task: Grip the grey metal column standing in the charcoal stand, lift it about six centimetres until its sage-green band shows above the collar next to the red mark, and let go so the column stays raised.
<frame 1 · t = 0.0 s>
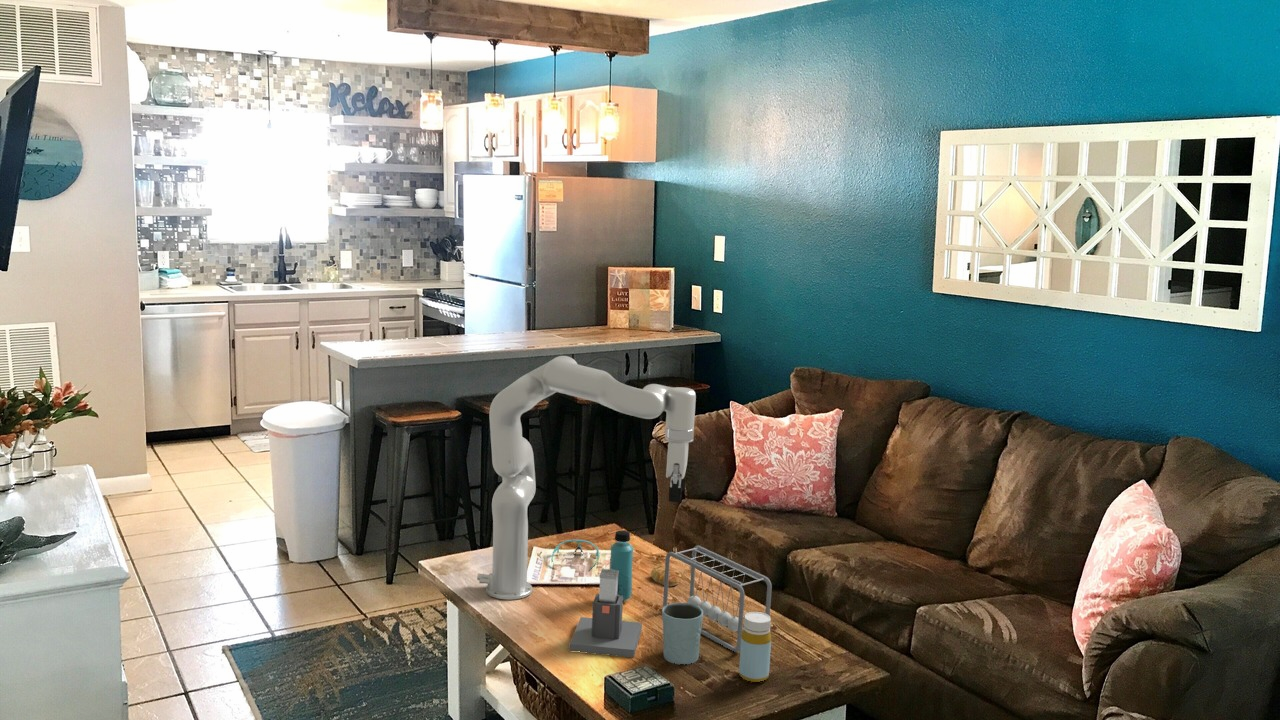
hand: (676, 496, 282), 31 cm above the table, tool pointing down, fingers open, 9 cm apart
stand base: (606, 640, 264), on the table
beverage bottle: (619, 601, 289), on the table
bottle: (753, 677, 249), on the table
sunglasses: (575, 564, 316), on the table
newton's cradle: (713, 629, 274), on the table
pastry: (665, 581, 305), on the table
stand column: (608, 601, 263), point 11 cm above the table, slide at 0.0 cm
grey cup: (680, 657, 258), on the table
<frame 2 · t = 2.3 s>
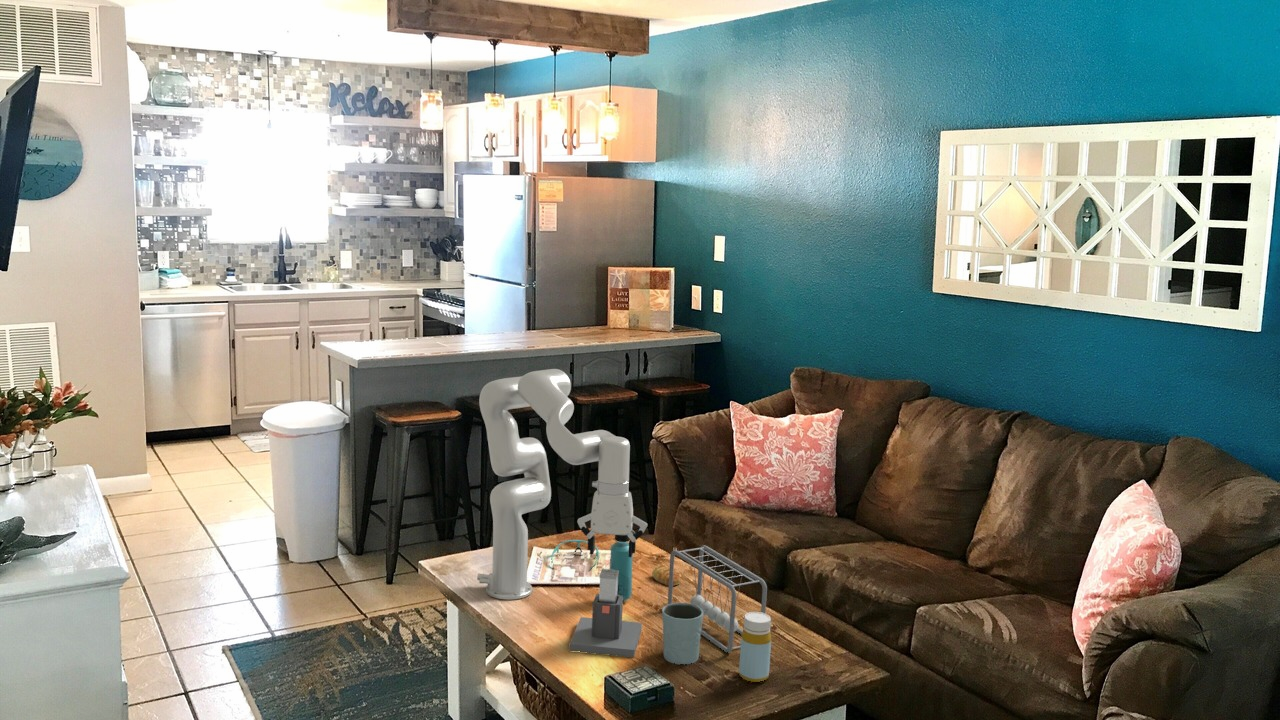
hand: (611, 554, 260), 23 cm above the table, tool pointing down, fingers open, 9 cm apart
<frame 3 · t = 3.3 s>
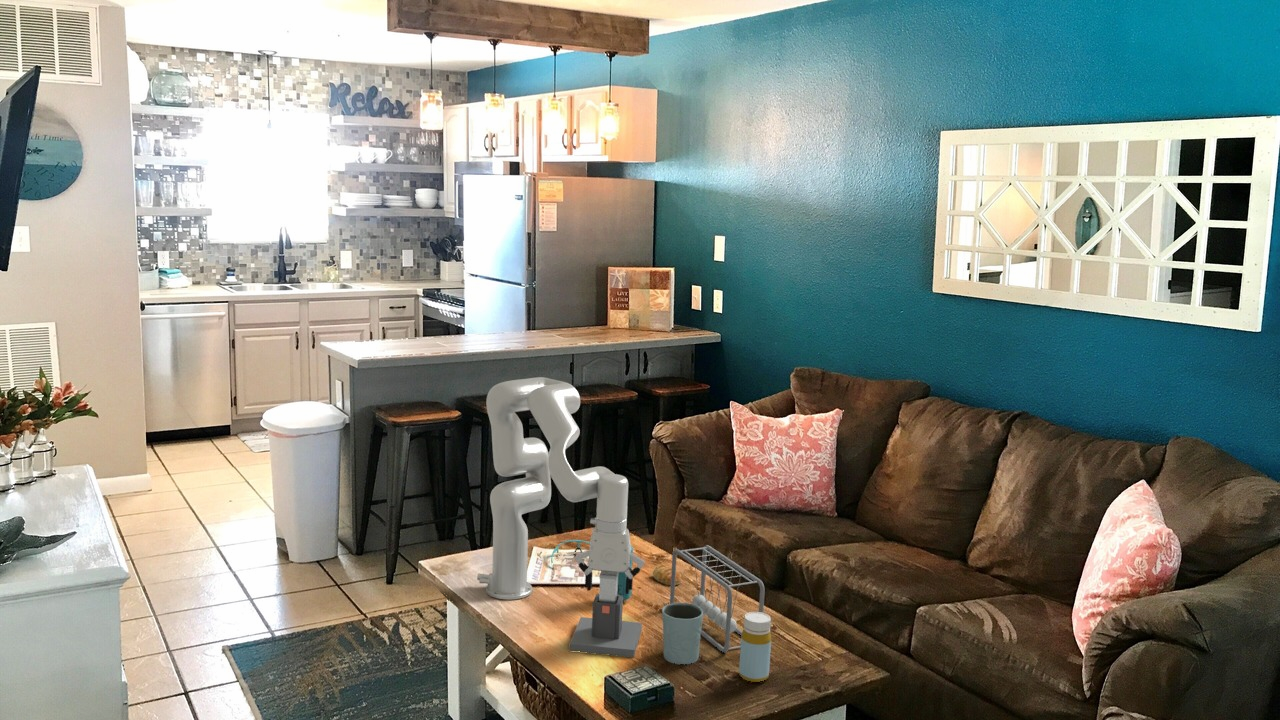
hand: (608, 590, 262), 13 cm above the table, tool pointing down, fingers open, 9 cm apart
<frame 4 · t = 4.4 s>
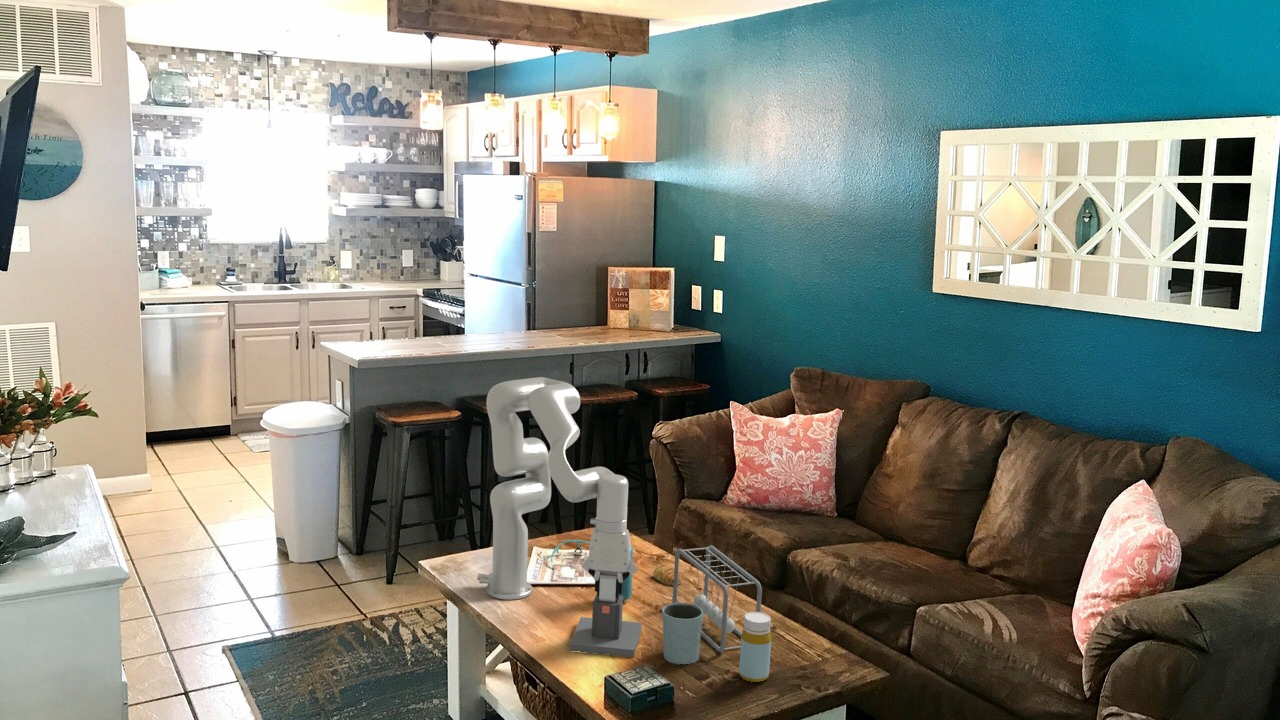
hand: (608, 594, 262), 12 cm above the table, tool pointing down, fingers closed on stand column, 4 cm apart
stand column: (608, 601, 263), point 10 cm above the table, slide at 0.0 cm, touching gripper
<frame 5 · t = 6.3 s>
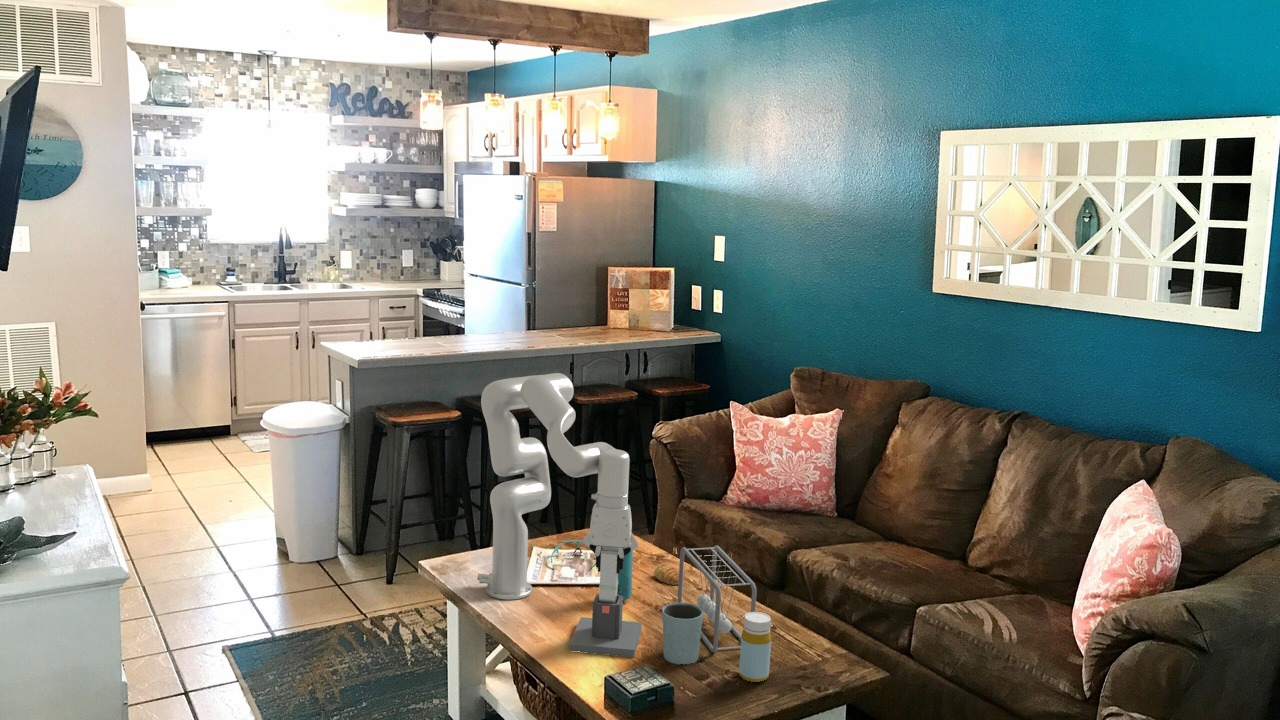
hand: (609, 570, 261), 19 cm above the table, tool pointing down, fingers closed on stand column, 4 cm apart
stand column: (609, 576, 261), point 17 cm above the table, slide at 6.4 cm, touching gripper
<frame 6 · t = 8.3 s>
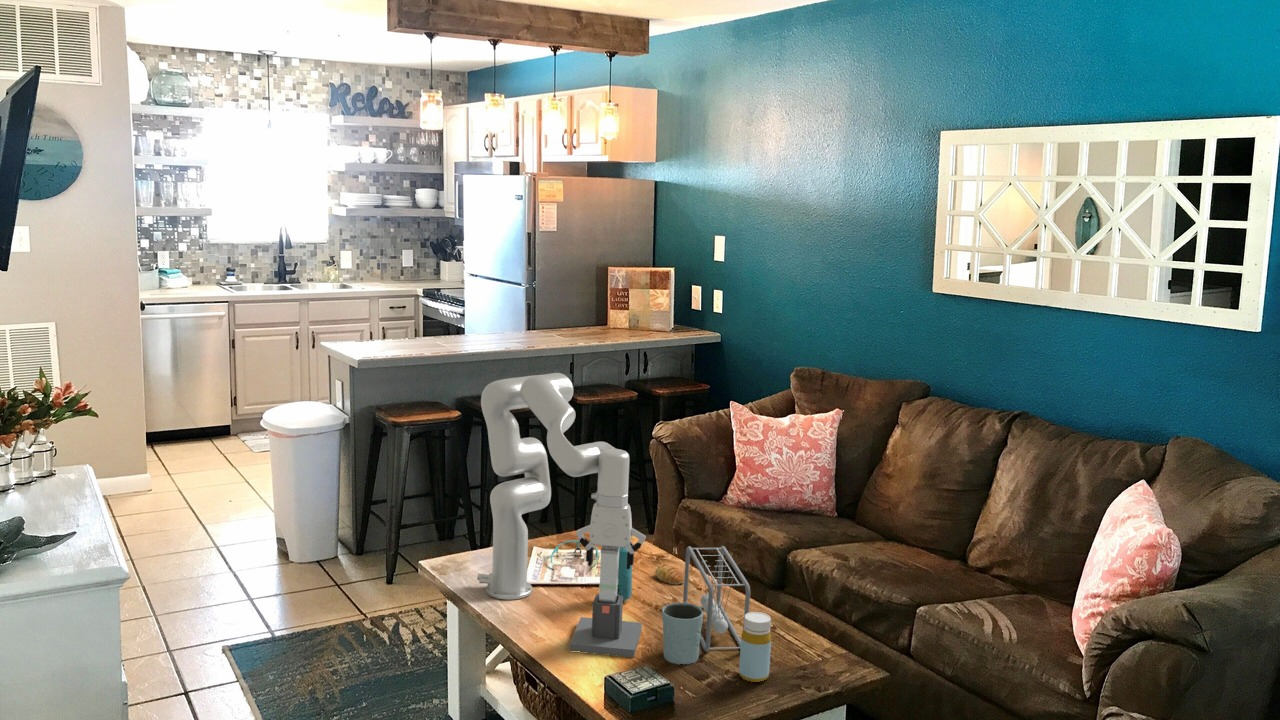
hand: (609, 565, 261), 20 cm above the table, tool pointing down, fingers open, 9 cm apart
stand column: (609, 576, 261), point 17 cm above the table, slide at 6.5 cm
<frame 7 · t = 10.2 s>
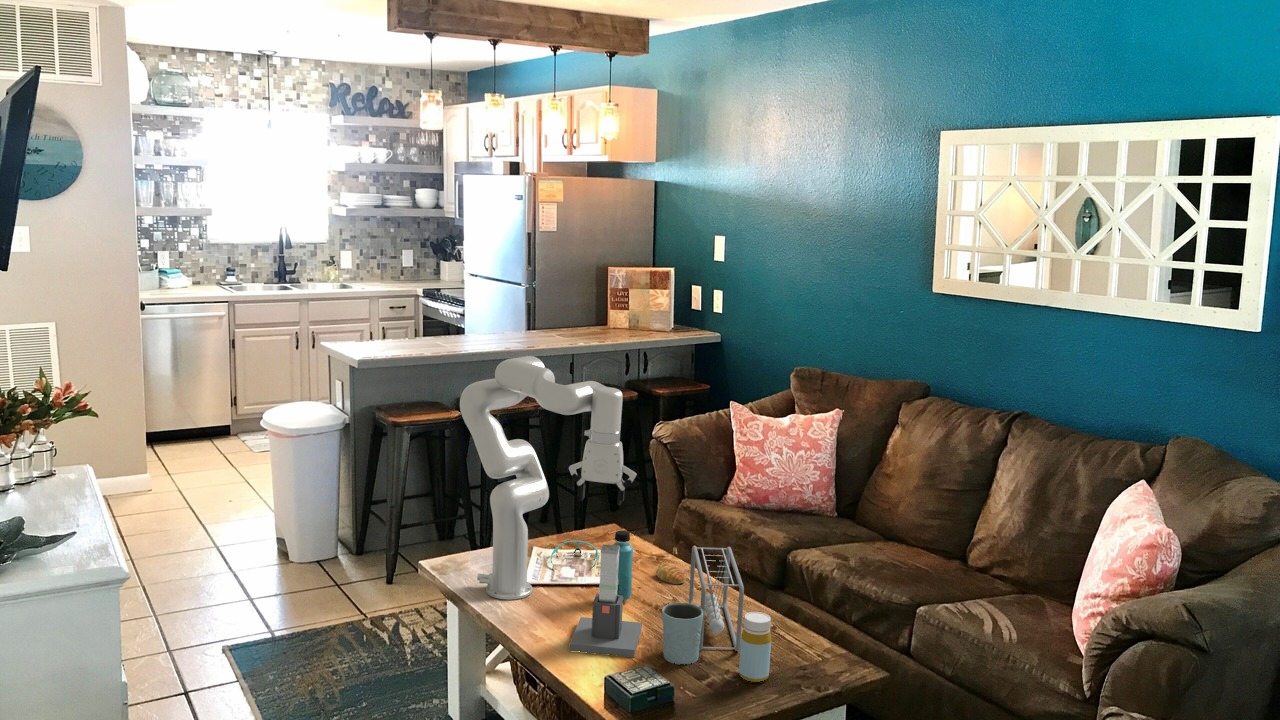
hand: (600, 501, 267), 33 cm above the table, tool pointing down, fingers open, 9 cm apart
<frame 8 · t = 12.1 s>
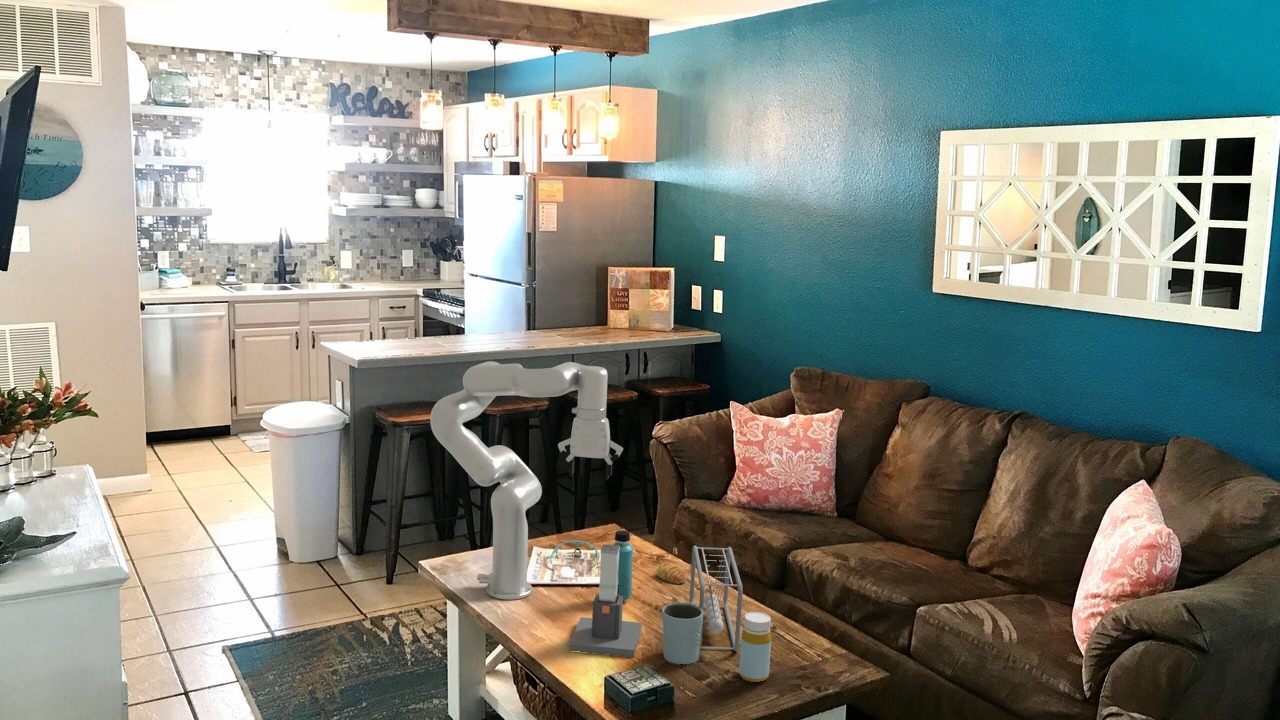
hand: (589, 476, 278), 36 cm above the table, tool pointing down, fingers open, 9 cm apart
at the end: stand column slide at 6.5 cm; the gripper is holding nothing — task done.
